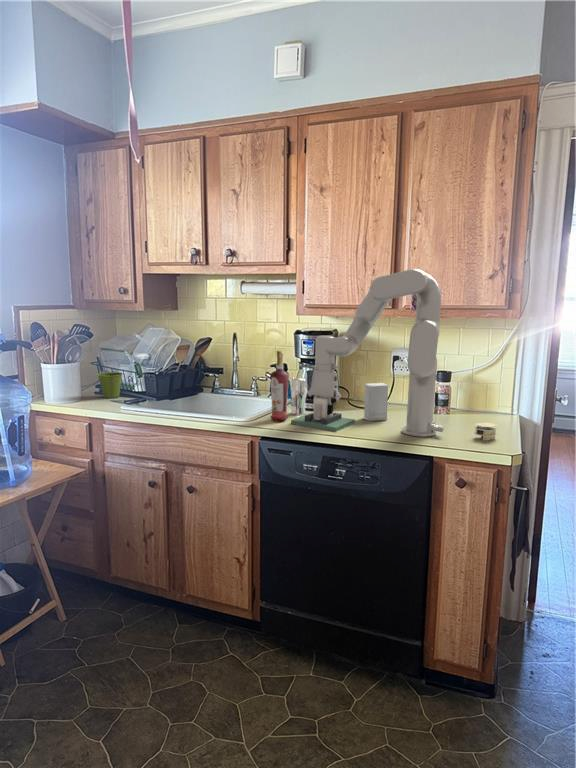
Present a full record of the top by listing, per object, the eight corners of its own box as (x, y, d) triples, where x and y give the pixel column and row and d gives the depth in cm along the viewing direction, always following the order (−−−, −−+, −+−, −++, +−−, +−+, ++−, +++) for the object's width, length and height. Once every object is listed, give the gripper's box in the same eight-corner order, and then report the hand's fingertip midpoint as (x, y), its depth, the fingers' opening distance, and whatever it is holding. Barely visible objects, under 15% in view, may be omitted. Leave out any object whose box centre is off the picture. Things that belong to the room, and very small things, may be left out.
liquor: (291, 420, 213) (293, 351, 208) (280, 423, 207) (281, 352, 202) (278, 417, 217) (278, 349, 213) (266, 420, 212) (266, 351, 207)
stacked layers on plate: (483, 434, 197) (484, 420, 196) (504, 440, 189) (505, 425, 188) (465, 438, 191) (466, 423, 190) (486, 444, 184) (487, 429, 183)
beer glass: (288, 412, 227) (288, 377, 224) (302, 411, 229) (303, 377, 227) (293, 415, 220) (294, 380, 218) (309, 414, 223) (310, 379, 220)
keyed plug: (333, 416, 209) (333, 396, 208) (322, 420, 202) (323, 400, 201) (322, 414, 212) (322, 395, 211) (311, 418, 205) (311, 398, 204)
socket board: (354, 423, 210) (355, 414, 209) (336, 431, 196) (336, 422, 196) (311, 416, 220) (311, 407, 220) (291, 423, 207) (291, 415, 206)
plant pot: (116, 393, 261) (115, 371, 259) (128, 397, 253) (127, 374, 251) (93, 396, 252) (92, 373, 251) (105, 400, 244) (104, 376, 243)
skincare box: (381, 417, 220) (383, 382, 218) (387, 420, 215) (389, 384, 212) (362, 417, 219) (364, 382, 216) (367, 421, 213) (369, 385, 210)
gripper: (348, 368, 203) (347, 414, 206) (310, 364, 212) (309, 408, 215) (339, 370, 197) (338, 418, 200) (301, 366, 206) (300, 412, 209)
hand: (323, 412), depth 207 cm, fingers closed on keyed plug, 5 cm apart
